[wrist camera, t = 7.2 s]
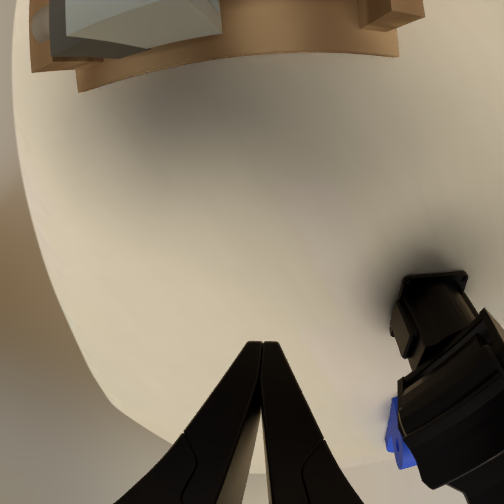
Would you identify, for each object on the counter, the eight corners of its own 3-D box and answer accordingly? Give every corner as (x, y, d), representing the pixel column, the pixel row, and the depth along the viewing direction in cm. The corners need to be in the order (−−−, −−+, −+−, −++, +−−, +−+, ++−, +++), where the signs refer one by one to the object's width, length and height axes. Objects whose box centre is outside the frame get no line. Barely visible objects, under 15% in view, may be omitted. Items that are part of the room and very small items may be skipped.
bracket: (392, 397, 31) (405, 460, 23) (451, 379, 29) (471, 437, 21) (383, 446, 39) (389, 491, 32) (428, 433, 38) (437, 477, 30)
